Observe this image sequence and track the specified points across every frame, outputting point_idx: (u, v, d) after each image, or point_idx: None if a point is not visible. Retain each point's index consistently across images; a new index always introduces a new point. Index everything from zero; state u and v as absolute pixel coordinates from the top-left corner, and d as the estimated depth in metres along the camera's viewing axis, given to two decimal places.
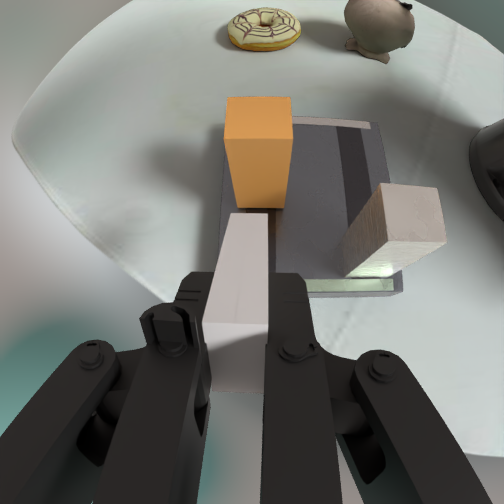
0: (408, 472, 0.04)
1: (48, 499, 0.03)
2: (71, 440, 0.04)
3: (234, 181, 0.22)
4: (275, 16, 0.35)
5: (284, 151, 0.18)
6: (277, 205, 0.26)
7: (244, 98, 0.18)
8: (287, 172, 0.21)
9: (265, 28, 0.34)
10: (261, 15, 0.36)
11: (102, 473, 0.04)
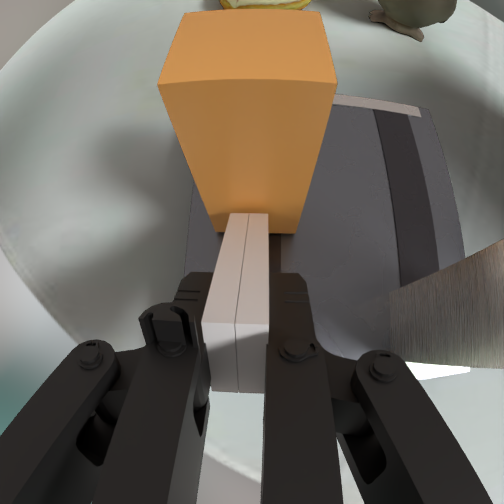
0: (409, 472, 0.04)
1: (47, 499, 0.03)
2: (70, 440, 0.04)
3: (201, 188, 0.11)
4: None
5: (311, 119, 0.07)
6: (284, 229, 0.15)
7: (219, 11, 0.07)
8: (311, 170, 0.10)
9: None
10: None
11: (101, 473, 0.04)
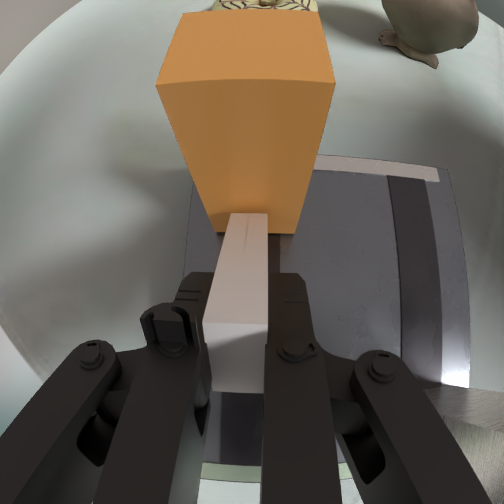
0: (408, 472, 0.04)
1: (48, 499, 0.03)
2: (71, 441, 0.04)
3: (200, 188, 0.11)
4: None
5: (309, 118, 0.07)
6: (283, 229, 0.15)
7: (218, 12, 0.07)
8: (309, 170, 0.10)
9: (266, 7, 0.22)
10: None
11: (102, 473, 0.04)
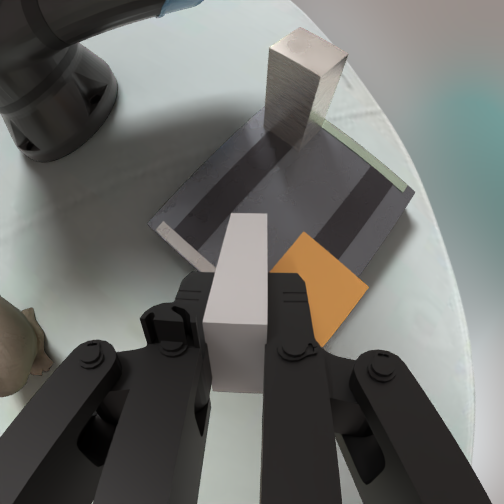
0: (407, 472, 0.04)
1: (48, 499, 0.03)
2: (71, 440, 0.04)
3: None
4: None
5: None
6: None
7: None
8: None
9: None
10: None
11: (102, 473, 0.04)
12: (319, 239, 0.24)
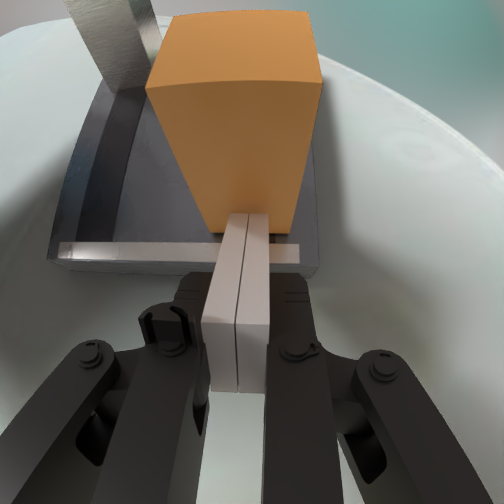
0: (409, 472, 0.04)
1: (47, 499, 0.03)
2: (70, 440, 0.04)
3: None
4: None
5: None
6: None
7: (273, 75, 0.06)
8: None
9: None
10: None
11: (101, 473, 0.04)
12: None
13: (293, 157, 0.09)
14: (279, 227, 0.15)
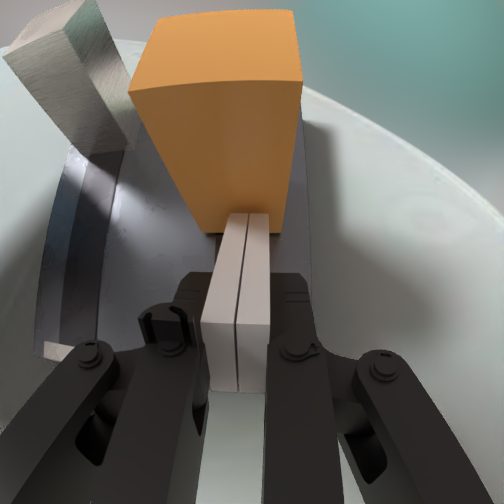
0: (410, 472, 0.04)
1: (47, 498, 0.03)
2: (69, 439, 0.04)
3: None
4: None
5: None
6: None
7: (253, 75, 0.06)
8: None
9: None
10: None
11: (100, 473, 0.04)
12: None
13: (279, 157, 0.09)
14: (270, 227, 0.15)
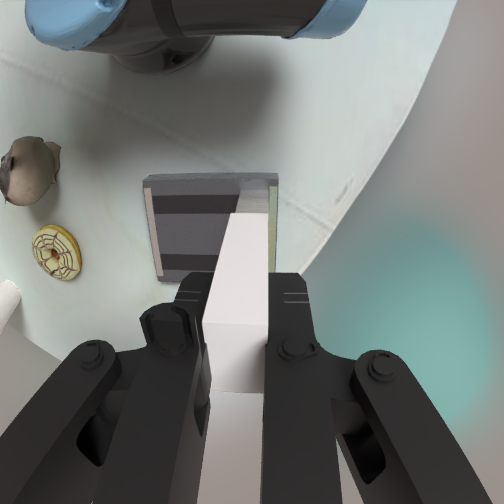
0: (408, 472, 0.04)
1: (48, 499, 0.03)
2: (71, 441, 0.04)
3: None
4: (45, 248, 0.45)
5: None
6: None
7: None
8: None
9: (62, 257, 0.45)
10: (46, 258, 0.46)
11: (102, 473, 0.04)
12: (206, 257, 0.44)
13: None
14: None
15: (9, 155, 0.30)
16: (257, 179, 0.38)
